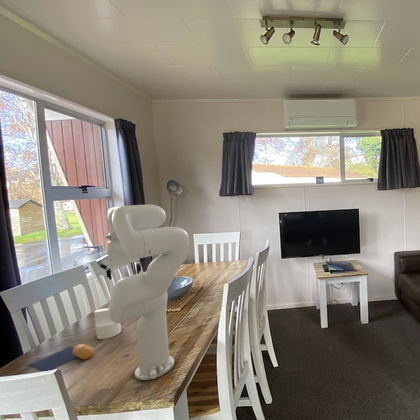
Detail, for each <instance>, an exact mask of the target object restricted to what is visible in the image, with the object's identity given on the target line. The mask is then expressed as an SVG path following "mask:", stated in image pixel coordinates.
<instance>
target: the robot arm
mask: <svg viewBox="0 0 420 420" xmlns="http://www.w3.org/2000/svg"><path fill="white" fill-rule="evenodd" d="M166 218H167V214H166V212H165V210H164V208H162V207H161V206H160V205H157V204H150V203H149V204H133V205H121V206H117V207H110V208H108V210H107V223H108V233H109V234H107V235H105V236H104V238H105V240H108V241H107V247H106V248H107V249H106V255H104V256H102V257H101V258H99V259H97V260H96V264H97V265H98V266H99V267H100V268H101V269H103V270H105V273H106V278H108V280H109V281H111V280H112V270H111V268H112V267H113V266H120V265H125V264H131V263H136V264H135V269H136V273H135V274H132V275H127V276H124V277H121V278H120V279H118V280H117V281H116V282H115V284H114V286H113V288H112V292H111V296H110V299H109V303H108V307H107V308H108V312H109V317H110V319H111V320H112V321H113V322H115V323H120V324H123V323H126V322H130V321H132V320H135V319H138V318H139V320H138V321H137V324H136V328H135V330H136V332H135V333H136V342H137V353H138V367H136V369H135V370H134V377H135V378H136V379H138V380H140V381H149V380H155V379H156V378H159V377H161V376H163V375H166V373H168V372H170V370H172V368H173V367H174V365H175V358H174V357H173V356H171V355H170V348H169V337H168V336H169V335H168V334H169V333H168V325H167V324H168V322H167V307H168V298H169V297H168V296H169V295H168V291H169V289H170V286H171V284H172V282H173V280H174V279H175V276H176V274H177V272H178V270H179V269H180V268H181V266H183V264H184V262H185V260H186V258H187V256H188V253H189V248H190V239H189V234H188V232H187V231H186V230H185V229H183V228H181V227H179V226H162V225H163V224H164V223H165V221H166ZM154 256H156V257H155V258H153V260H151V261H150V263H149V264H148V265H147V268H146V270H145V271H144V272H142V266H141V265H142V264H143V263H144V262H145V260H146V258H149V257H154ZM106 260H107V264H104V263H103V262H105V261H106Z"/></svg>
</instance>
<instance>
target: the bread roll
mask: <svg viewBox="0 0 420 420" xmlns="http://www.w3.org/2000/svg"><path fill="white" fill-rule="evenodd" d="M72 349H73V350H72V354H73V355H74V356H76V357H77V358H79V359H81V360H88V359H90V358H92V356H94V354H95V349H94V347H93V346H91V345H88V344H85V343H79V344H77V345H75V346H74V347H73V348H72Z"/></svg>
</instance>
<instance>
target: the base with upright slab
mask: <svg viewBox="0 0 420 420" xmlns="http://www.w3.org/2000/svg"><path fill="white" fill-rule="evenodd" d="M108 308H109V307H106V308H105V307H104V308H100V309H99V308H98V309H96V310H95V311H93V314H94V323H95V333H96V338H97V339H98V340H107V339H110V338H112V337H114V336H117V335H119V334H120V333H121V332H122V325H121V324H122V323H115V322H113V321H112V320H111V319H110V317H109V312H108Z"/></svg>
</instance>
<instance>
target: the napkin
mask: <svg viewBox="0 0 420 420" xmlns="http://www.w3.org/2000/svg"><path fill="white" fill-rule="evenodd" d="M72 350H73V348H71V347H65V348H64V349H62V350H60V351H57V352H55V353H53V354H51V355H49V356H47V357H44V358H42V359H40V360H38V361H35V362H33V363H31V364H30V366H31V367H33V368H35V369H38V370H40V371H43V372H45V371H48V370H50V371H53V370H54V369H56V368H58V367H60V366H63V365H64V364H66V363H69V362H70V361H73V360H75V359H77V358H78V357H76V356H74V355H73V354H72ZM48 372H49V371H48Z"/></svg>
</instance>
